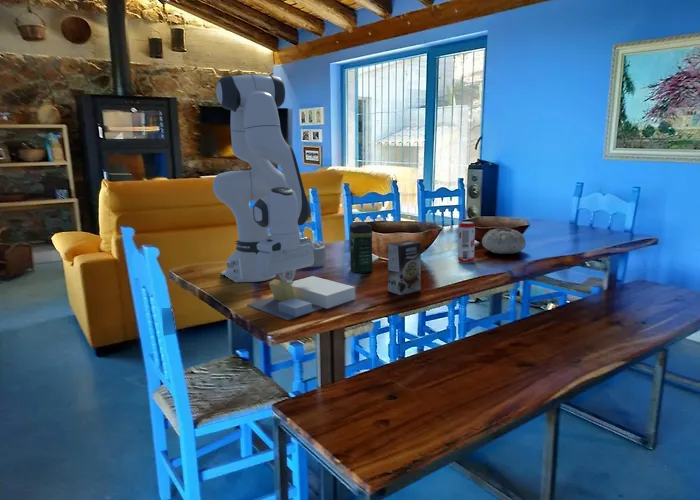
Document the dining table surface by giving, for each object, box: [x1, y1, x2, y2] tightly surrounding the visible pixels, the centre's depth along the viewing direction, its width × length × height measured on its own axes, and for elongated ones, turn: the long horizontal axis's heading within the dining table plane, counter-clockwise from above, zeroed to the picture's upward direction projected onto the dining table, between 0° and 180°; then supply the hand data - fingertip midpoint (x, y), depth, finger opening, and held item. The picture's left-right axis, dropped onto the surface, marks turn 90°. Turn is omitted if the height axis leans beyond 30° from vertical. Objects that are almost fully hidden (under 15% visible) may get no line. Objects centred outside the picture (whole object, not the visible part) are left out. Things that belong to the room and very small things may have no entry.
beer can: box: [457, 220, 476, 264], centre depth 201 cm, size 6×6×16 cm
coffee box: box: [387, 239, 422, 296], centre depth 166 cm, size 9×6×16 cm
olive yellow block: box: [268, 278, 296, 301], centre depth 158 cm, size 8×6×2 cm
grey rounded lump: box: [481, 227, 527, 255], centre depth 216 cm, size 18×18×10 cm
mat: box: [246, 296, 323, 321], centre depth 154 cm, size 20×13×1 cm, turn 45°
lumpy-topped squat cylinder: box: [307, 240, 327, 268], centre depth 206 cm, size 10×13×9 cm
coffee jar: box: [349, 221, 374, 274], centre depth 192 cm, size 10×8×19 cm
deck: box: [291, 275, 356, 309], centre depth 162 cm, size 20×12×4 cm, turn 45°
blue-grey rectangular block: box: [278, 298, 313, 318], centre depth 149 cm, size 8×6×2 cm
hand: (287, 284), depth 159 cm, fingers closed
